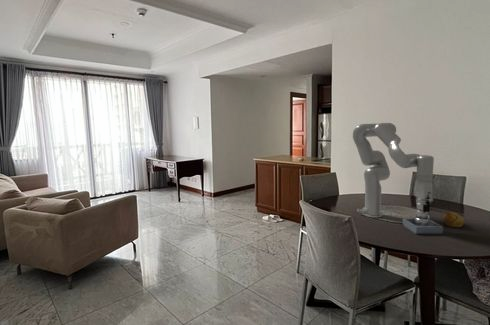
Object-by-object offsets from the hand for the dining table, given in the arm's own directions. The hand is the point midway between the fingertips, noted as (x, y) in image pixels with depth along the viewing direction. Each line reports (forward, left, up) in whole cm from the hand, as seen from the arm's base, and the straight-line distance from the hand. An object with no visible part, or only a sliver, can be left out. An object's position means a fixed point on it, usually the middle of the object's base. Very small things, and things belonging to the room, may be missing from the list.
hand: (422, 209), depth 158 cm
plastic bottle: (0, 0, -10) cm, 10 cm away
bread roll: (+22, +6, -12) cm, 25 cm away
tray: (0, 0, -11) cm, 11 cm away
